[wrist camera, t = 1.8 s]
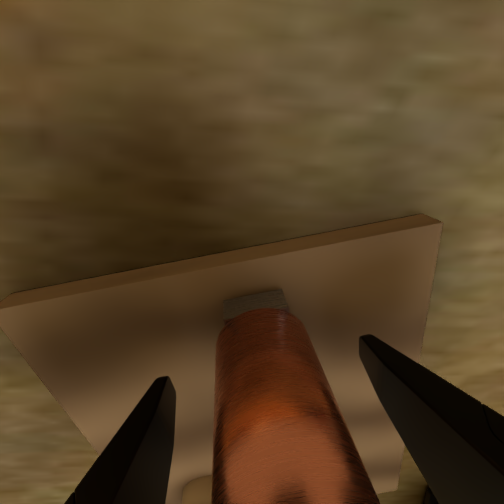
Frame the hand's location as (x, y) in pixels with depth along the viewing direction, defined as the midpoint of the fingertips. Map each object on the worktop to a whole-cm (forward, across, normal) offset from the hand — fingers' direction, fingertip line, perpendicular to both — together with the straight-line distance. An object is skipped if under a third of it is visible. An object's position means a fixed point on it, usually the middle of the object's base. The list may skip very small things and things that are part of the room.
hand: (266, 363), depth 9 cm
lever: (+2, 0, +6) cm, 6 cm away
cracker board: (+4, +1, +8) cm, 9 cm away
